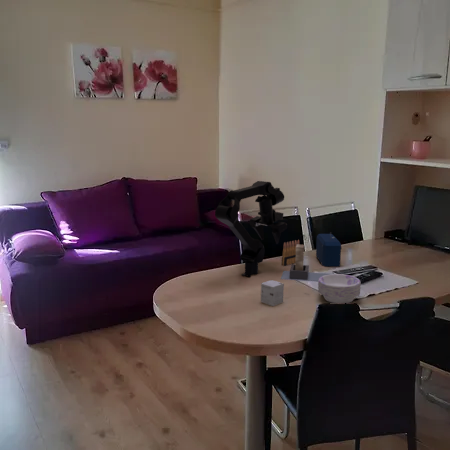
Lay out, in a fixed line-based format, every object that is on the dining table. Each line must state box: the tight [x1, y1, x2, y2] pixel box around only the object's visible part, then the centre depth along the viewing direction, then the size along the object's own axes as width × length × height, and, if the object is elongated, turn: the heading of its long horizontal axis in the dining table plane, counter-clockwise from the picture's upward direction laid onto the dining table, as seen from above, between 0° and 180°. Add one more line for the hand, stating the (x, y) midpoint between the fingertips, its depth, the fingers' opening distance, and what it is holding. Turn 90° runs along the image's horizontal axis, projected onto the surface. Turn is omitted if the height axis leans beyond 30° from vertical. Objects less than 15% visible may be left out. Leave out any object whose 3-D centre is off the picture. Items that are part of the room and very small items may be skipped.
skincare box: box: [260, 279, 285, 307], centre depth 169 cm, size 6×6×7 cm
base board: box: [280, 270, 330, 283], centre depth 197 cm, size 24×12×1 cm, turn 77°
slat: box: [294, 244, 305, 271], centre depth 196 cm, size 3×5×12 cm, turn 167°
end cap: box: [289, 264, 310, 280], centre depth 197 cm, size 7×9×4 cm
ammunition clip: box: [281, 239, 301, 267], centre depth 215 cm, size 11×2×12 cm, turn 127°
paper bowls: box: [317, 273, 362, 304], centre depth 172 cm, size 15×15×8 cm
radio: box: [315, 233, 342, 268], centre depth 219 cm, size 21×9×20 cm, turn 179°
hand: (269, 241), depth 209 cm, fingers open, 9 cm apart
